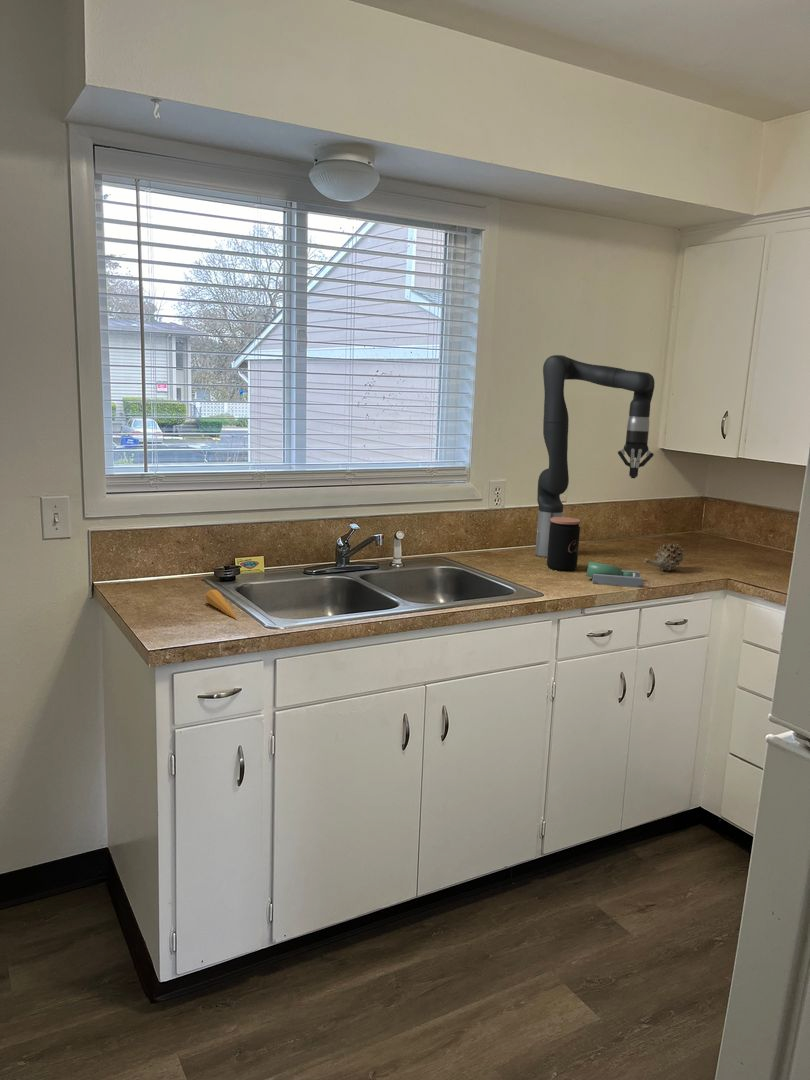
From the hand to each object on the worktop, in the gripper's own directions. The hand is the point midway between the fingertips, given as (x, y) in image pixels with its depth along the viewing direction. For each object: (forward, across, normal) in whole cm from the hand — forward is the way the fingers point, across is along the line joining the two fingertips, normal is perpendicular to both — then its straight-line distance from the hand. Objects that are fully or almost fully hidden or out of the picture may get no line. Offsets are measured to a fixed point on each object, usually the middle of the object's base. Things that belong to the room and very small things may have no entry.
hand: (633, 478), depth 295 cm
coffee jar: (+33, -23, -10) cm, 42 cm away
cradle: (+33, -5, -24) cm, 41 cm away
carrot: (+34, -117, -96) cm, 155 cm away
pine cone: (+33, +13, -2) cm, 36 cm away
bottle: (+29, -15, -24) cm, 41 cm away
